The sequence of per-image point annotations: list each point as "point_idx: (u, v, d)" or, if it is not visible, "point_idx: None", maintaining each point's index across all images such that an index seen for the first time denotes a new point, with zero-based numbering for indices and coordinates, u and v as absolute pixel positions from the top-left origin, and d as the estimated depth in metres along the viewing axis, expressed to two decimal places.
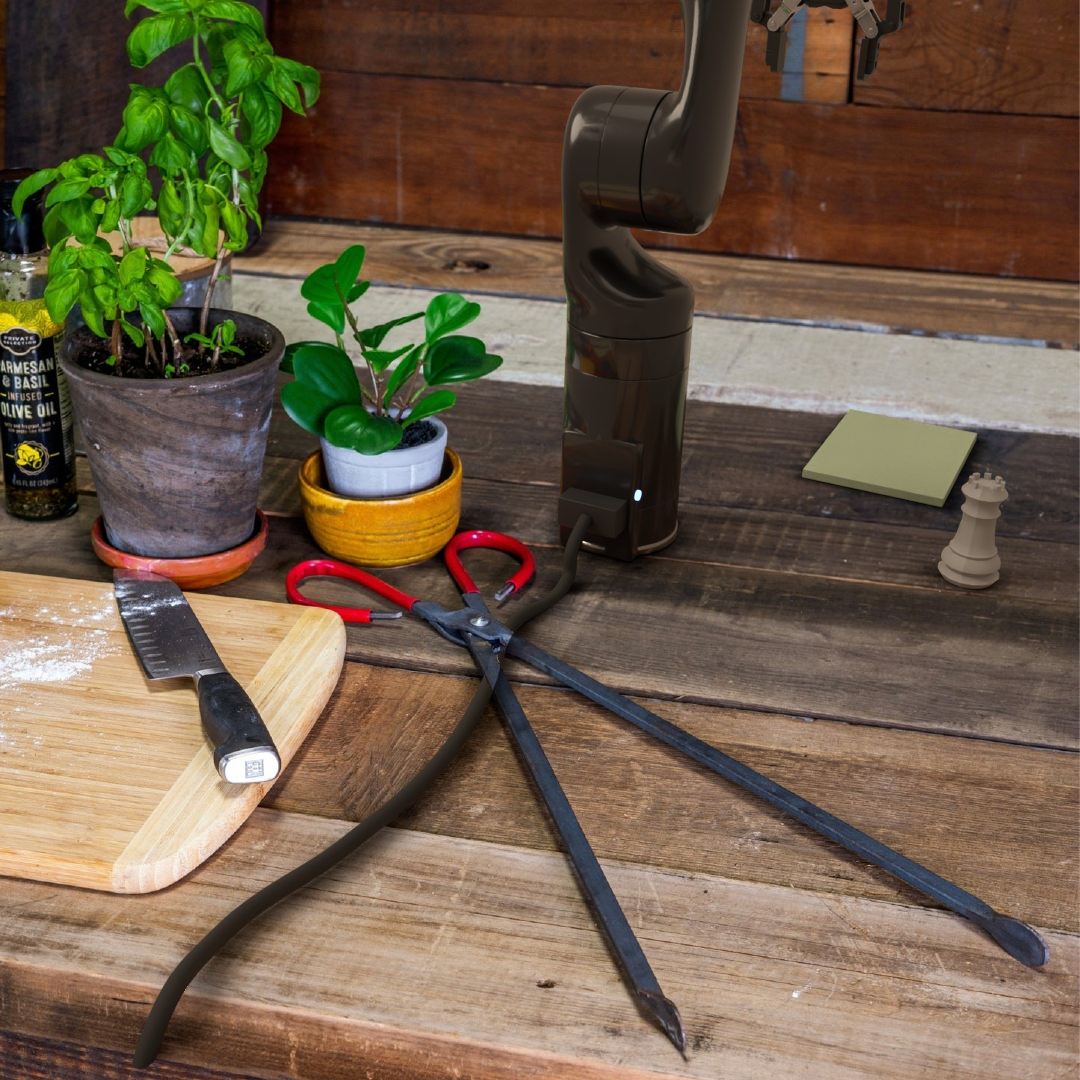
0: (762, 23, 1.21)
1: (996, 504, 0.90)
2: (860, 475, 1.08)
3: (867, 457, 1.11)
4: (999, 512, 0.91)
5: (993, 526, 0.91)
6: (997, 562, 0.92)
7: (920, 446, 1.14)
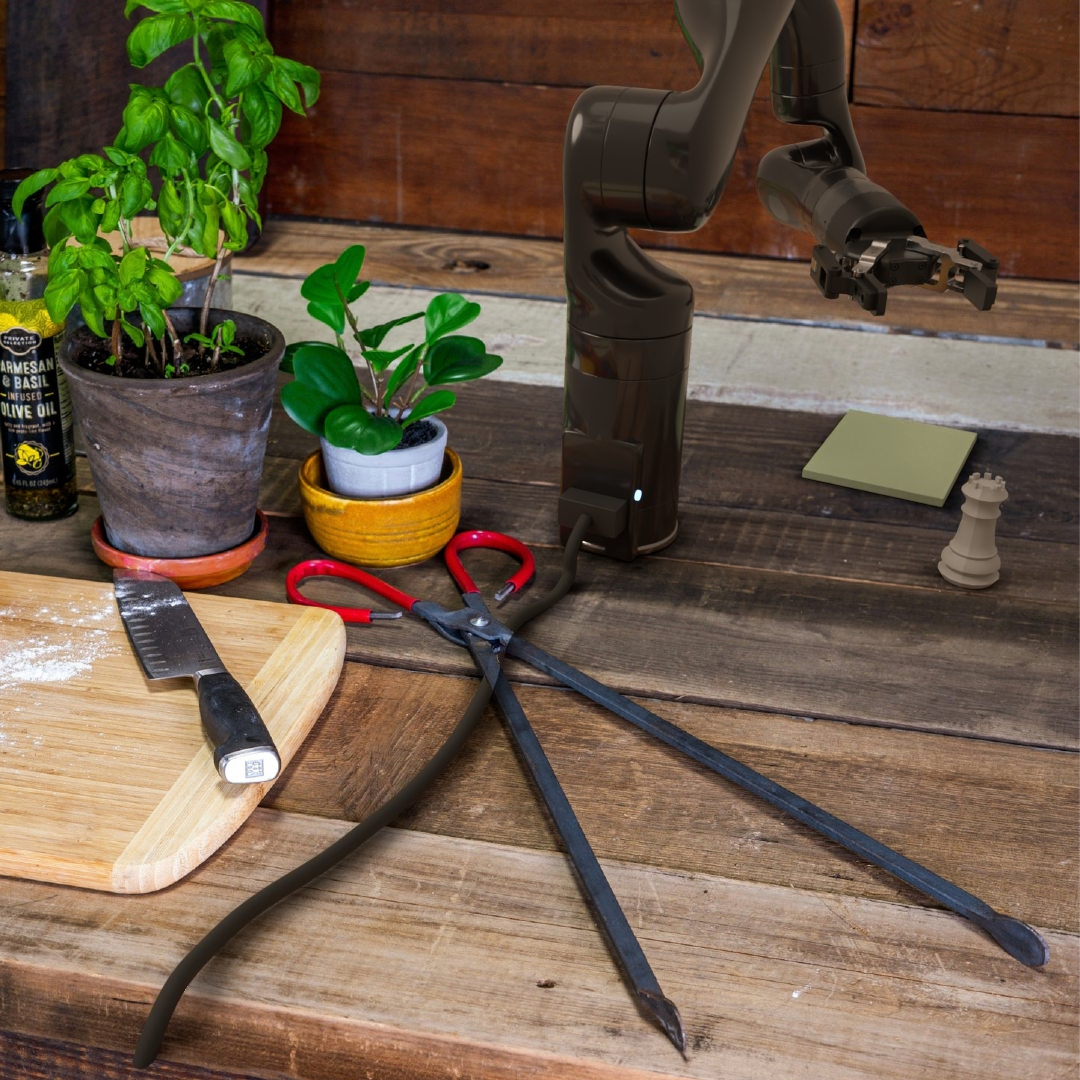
0: (843, 276, 0.99)
1: (996, 504, 0.90)
2: (860, 475, 1.08)
3: (867, 457, 1.11)
4: (999, 512, 0.91)
5: (993, 526, 0.91)
6: (997, 562, 0.92)
7: (920, 446, 1.14)
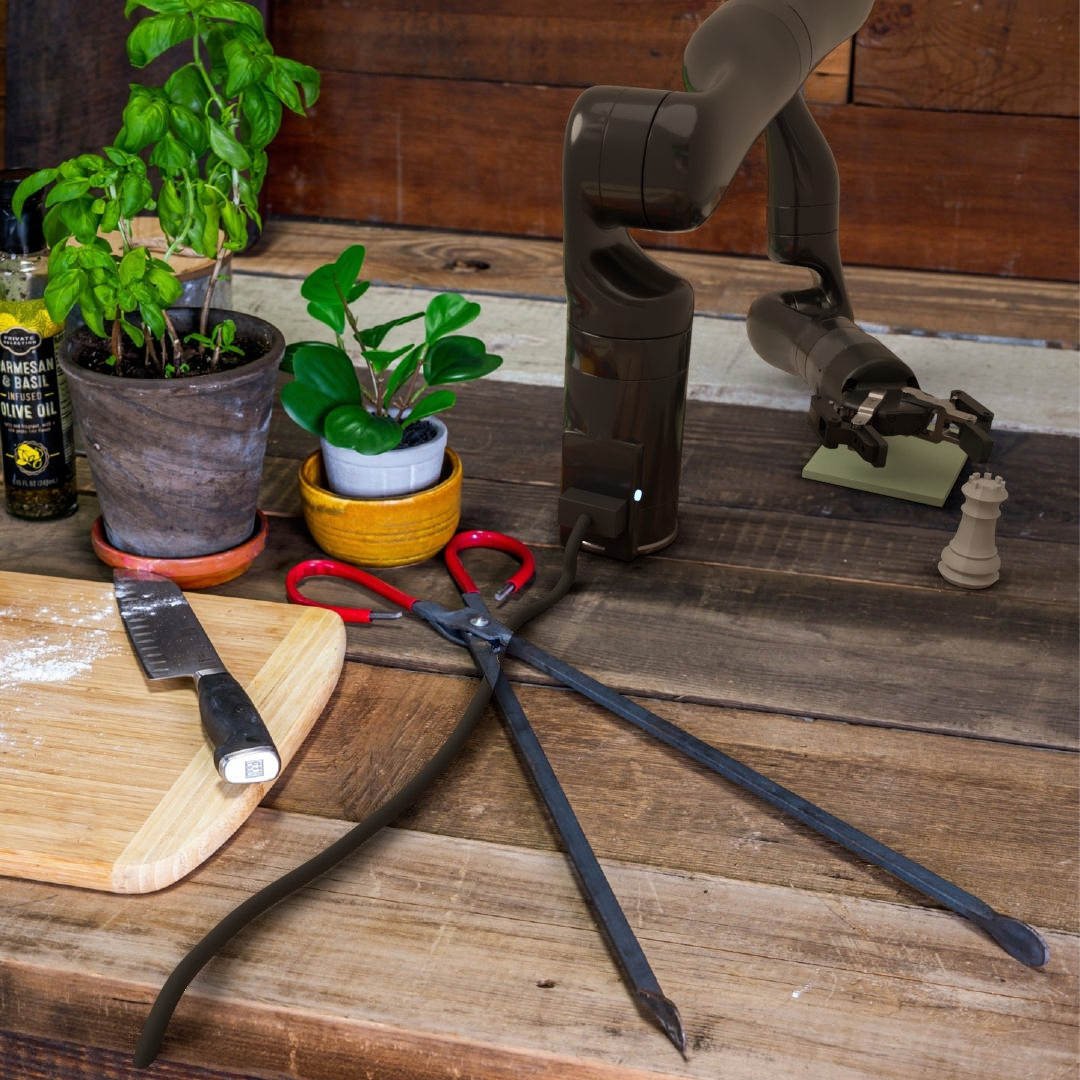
0: (843, 427, 1.01)
1: (996, 504, 0.90)
2: (860, 475, 1.08)
3: None
4: (999, 512, 0.91)
5: (993, 526, 0.91)
6: (997, 562, 0.92)
7: (920, 446, 1.14)
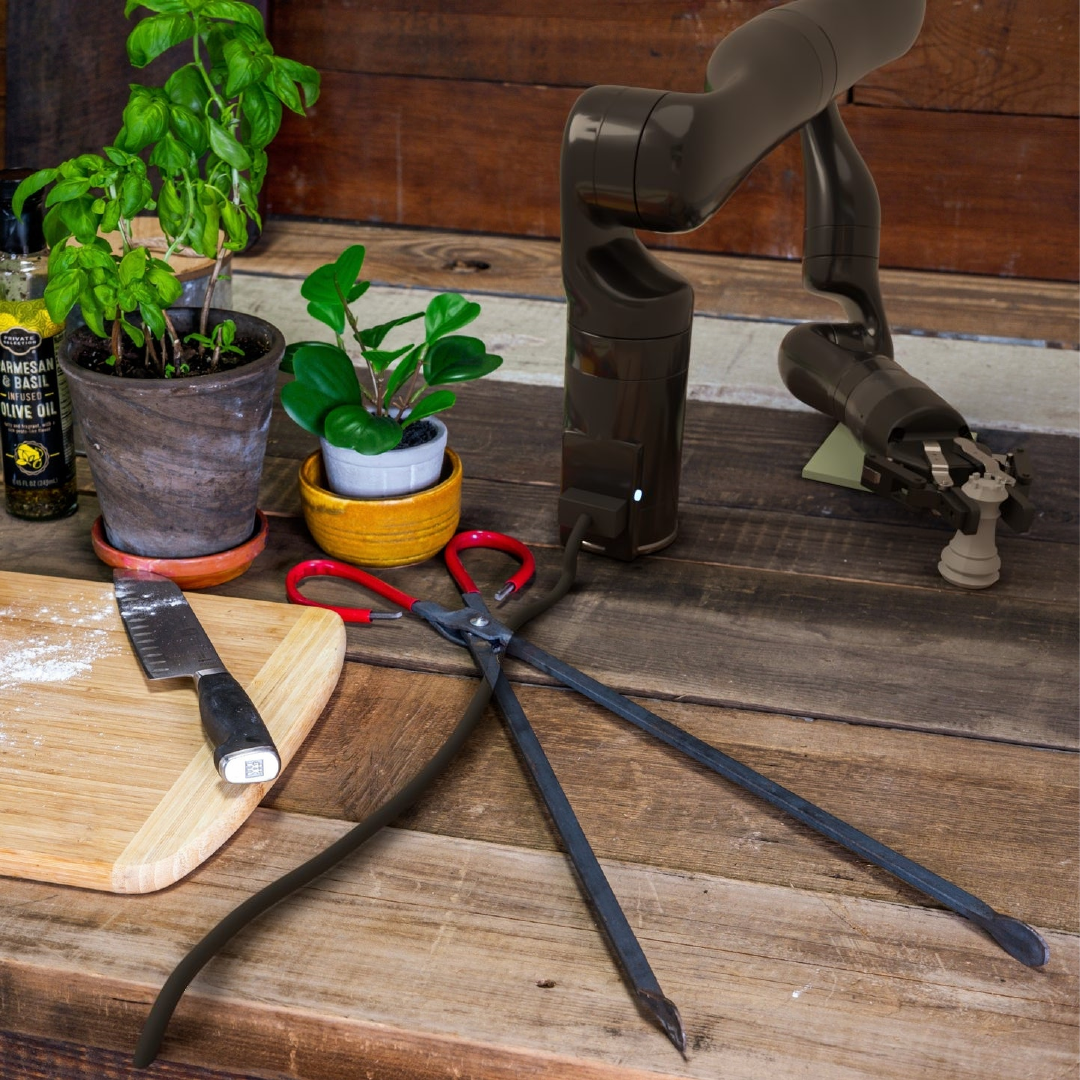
0: (928, 489, 0.92)
1: (996, 504, 0.90)
2: (860, 475, 1.08)
3: None
4: (999, 512, 0.91)
5: (993, 526, 0.91)
6: (997, 562, 0.92)
7: None
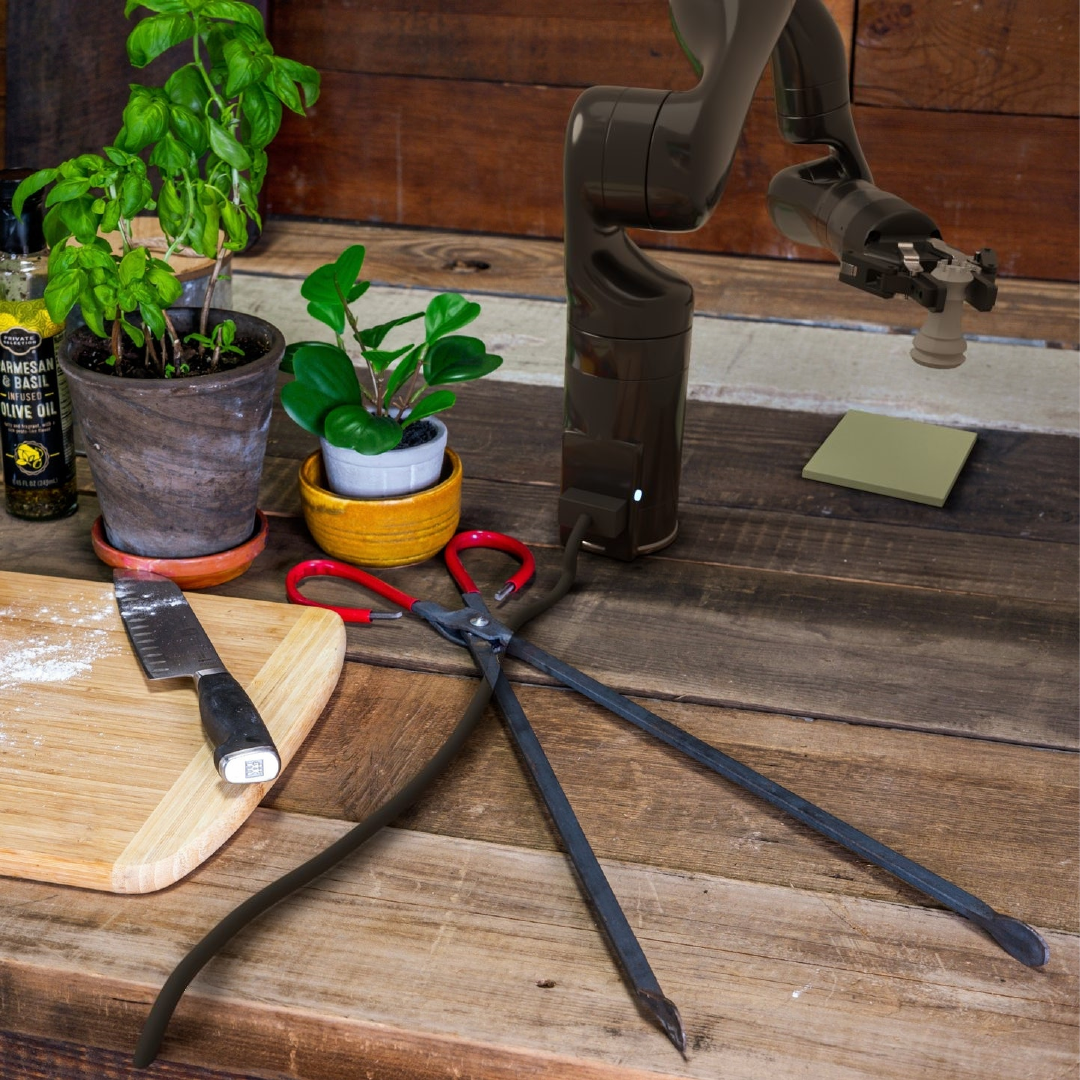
0: (899, 275, 0.99)
1: (962, 286, 0.97)
2: (860, 475, 1.08)
3: (867, 457, 1.11)
4: (965, 295, 0.98)
5: (959, 308, 0.99)
6: (963, 344, 1.00)
7: (920, 446, 1.14)
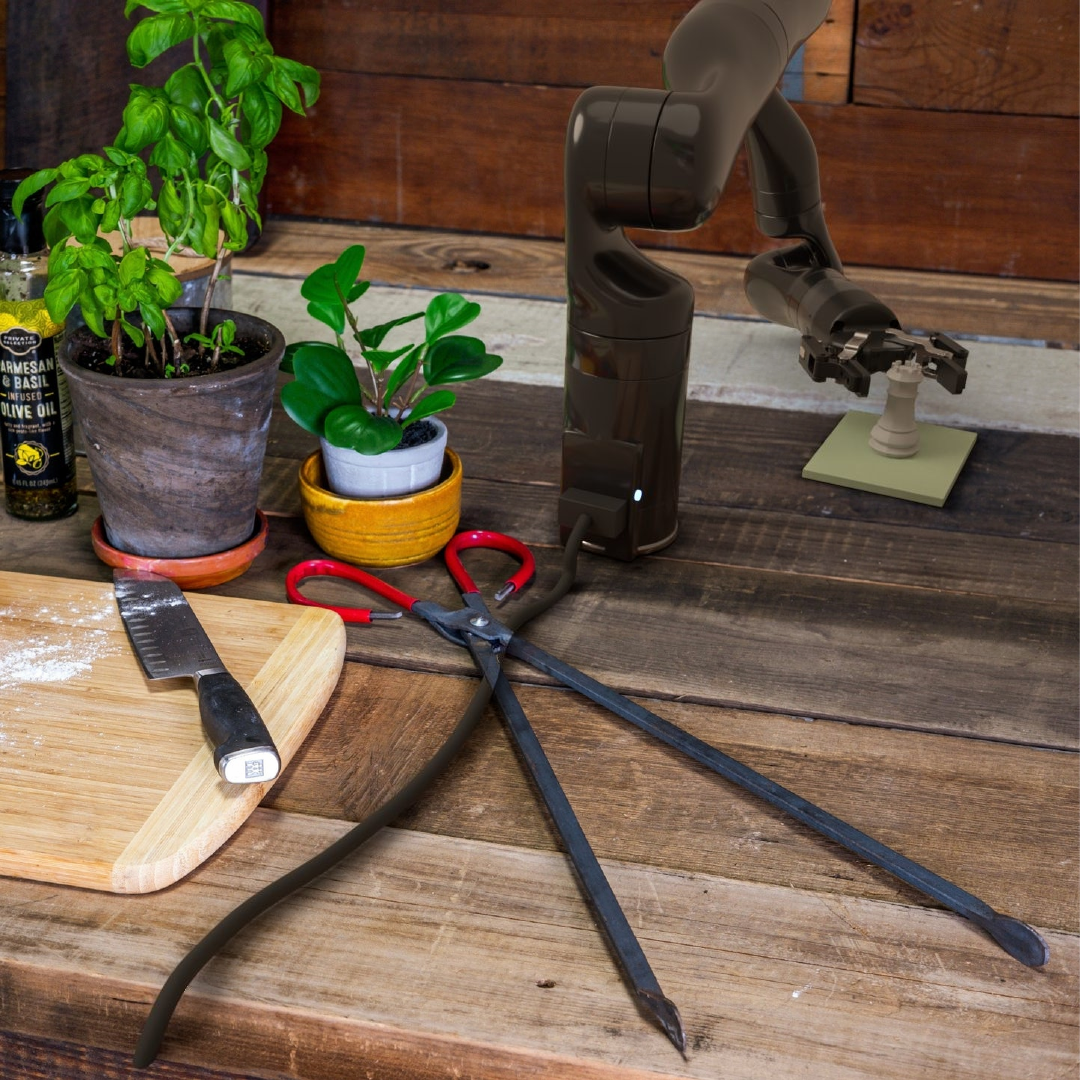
0: (830, 362, 1.11)
1: (914, 385, 1.09)
2: (860, 475, 1.08)
3: (867, 457, 1.11)
4: (917, 393, 1.10)
5: (912, 404, 1.10)
6: (916, 435, 1.11)
7: (920, 446, 1.14)
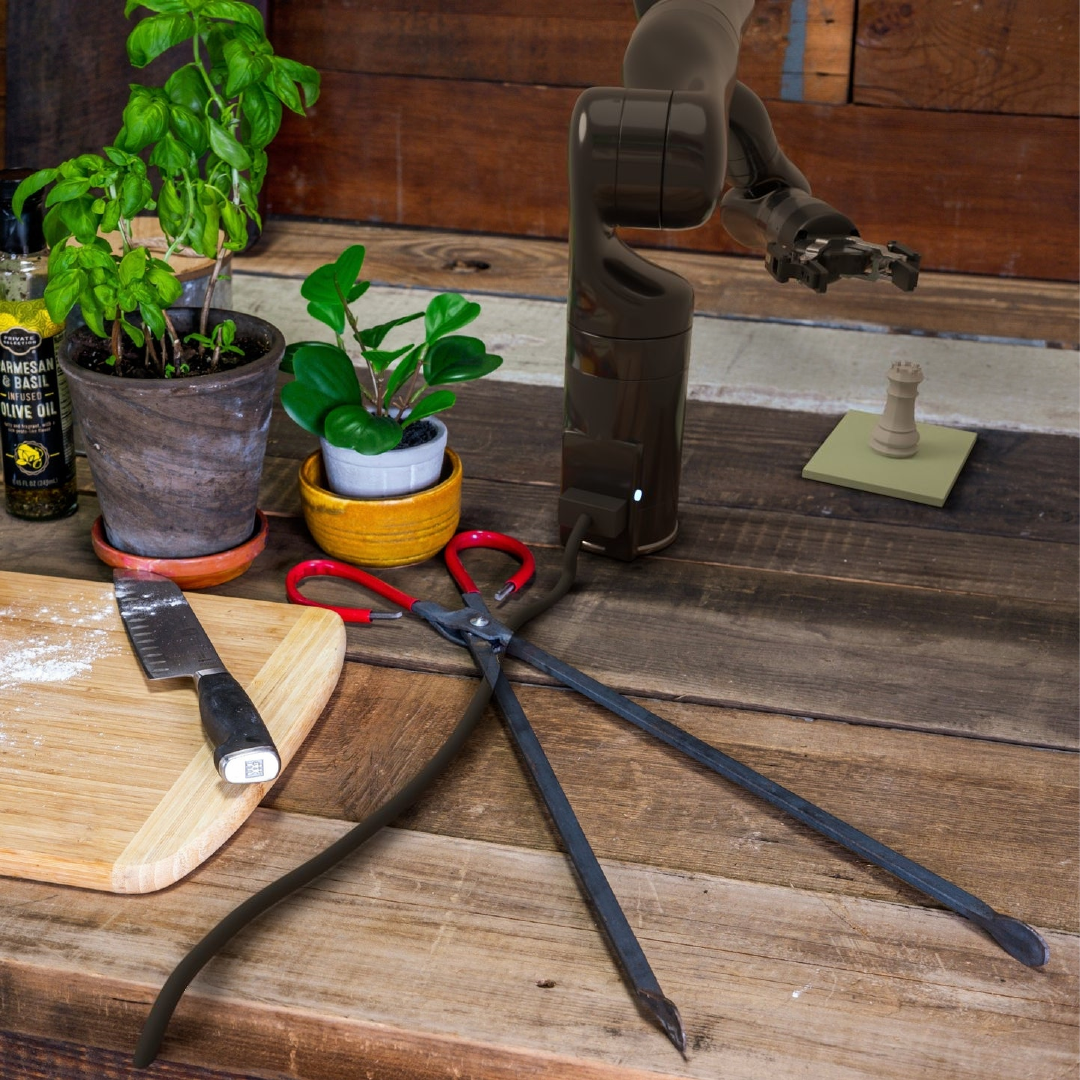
0: (792, 263, 1.19)
1: (914, 385, 1.09)
2: (860, 475, 1.08)
3: (867, 457, 1.11)
4: (917, 393, 1.10)
5: (912, 404, 1.10)
6: (916, 435, 1.11)
7: (920, 446, 1.14)
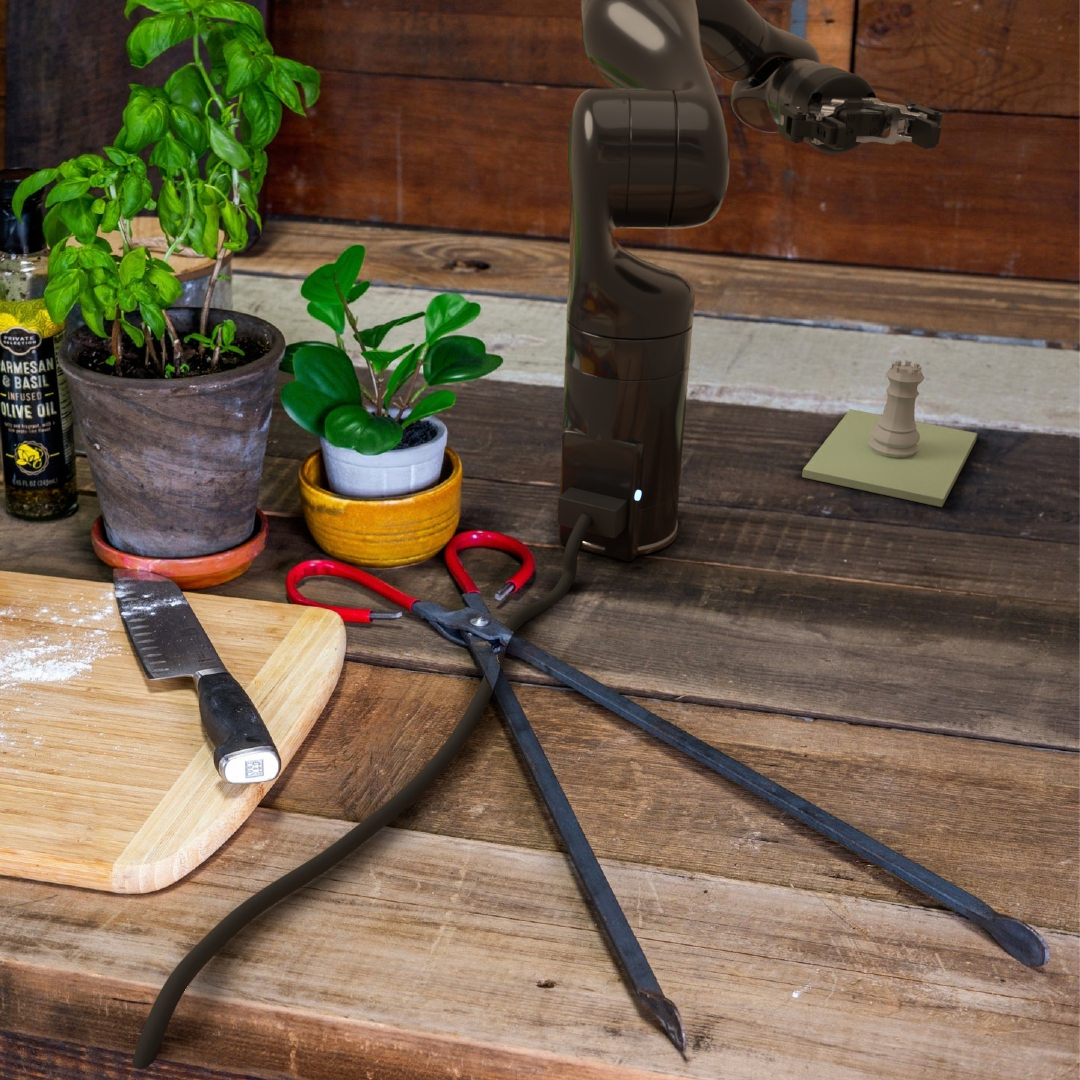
0: (807, 120, 1.13)
1: (914, 385, 1.09)
2: (860, 475, 1.08)
3: (867, 457, 1.11)
4: (917, 393, 1.10)
5: (912, 404, 1.10)
6: (916, 435, 1.11)
7: (920, 446, 1.14)
